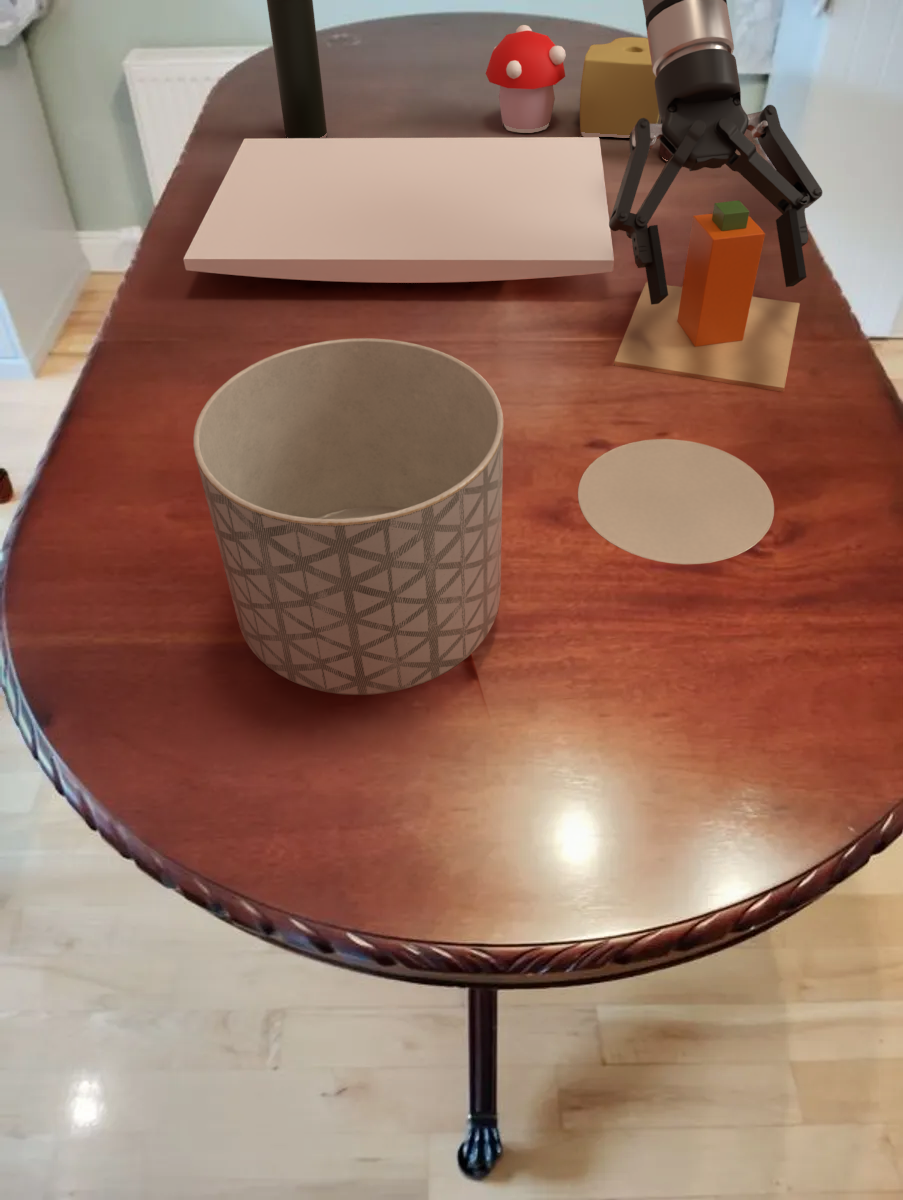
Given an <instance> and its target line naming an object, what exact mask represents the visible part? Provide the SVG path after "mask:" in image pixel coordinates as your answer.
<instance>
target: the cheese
mask: <svg viewBox="0 0 903 1200" xmlns="http://www.w3.org/2000/svg"><path fill="white" fill-rule="evenodd" d="M655 79H656V76H655V74H654V73H653V69H652V63H651V56H650V50H649V43H648V37H639V36H638V37H634V36H632V37H631V36H629V37H628V36H627V37H618V38H614V39H613V40H612V41H611V42H608V43H599V44H597V43H596V44H591V45H590V46H589V48H588V50H587V52H586V54H585V56H584V60H583V68H582V75H581V84H580V91H579V92H580V93H579V129H580V133H581V132H585V133H600V134H617V135H630V133H631V131H632V130H633V128H634V126H635V125H636V123H637V122H638V120H639V119H641V118H646V119H647V120H648V121H649V123H650V124H659V119H660V115H659V109H658V103H657V96H656V90H655Z"/></svg>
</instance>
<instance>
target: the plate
mask: <svg viewBox="0 0 903 1200" xmlns="http://www.w3.org/2000/svg"><path fill="white" fill-rule="evenodd" d="M577 500H578V506H579V508H580V511H581V513H582V516H583V517H584V519H585V520H586V522H587V523H588V525H589V526H590V527H591V528H592V529H593V530H594V531H595V532H596V533H597V534H598V535H599V536H601V537H602V538H603V539H604V540H606V541H607V542H608V543H610V544H612V545H613V546H614V547H617V548H618V549H621V550H623V551H625V552H627V553H629V554H630V555H631V554H632V555H634V556H637V557H640V558H643V559H646V560H651V561H655V562H658V563H659V562H660V563H666V564H672V565H673V564H674V565H701V564H711V563H716V562H720V561H724V560H728V559H731V558H734V557H737V556H738V555H741V554H743V553H745V552H746V551H749V550H750V549H751V548H753V547H754V546H756V545H757V544H758V543H759V542H760V541H761V540H763V538H764V537H765V535H767V534H768V532H769V530H770V528H771V526H772V523H773V520H774V516H775V504H774V498H773V495H772V493H771V490H770V488H769V487H768V485H767V483H766V481H764V479H763V478H762V476H761V475H760V474H759V473H758V472H756V470H754V468H753V467H751V466H750V465H748V464H747V463H746V462H745V461H743V460H741V459H740V458H738V457H737V456H735V455H733V454H731V453H729V452H727V451H724V450H722V449H719V448H717V447H714V446H712V445H708V444H704V443H701V442H697V441H692V440H684V439H675V438H674V439H673V438H653V439H643V440H637V441H633V442H629V443H625V444H622V445H620V446H617V447H614V448H612V449H610V450H608V451H606V452H604V453H602V454H601V455H600V456H598V457H597V458H595V459H594V460H593V461H592V462H591V463H590V464H589V465H588V466H587V468H586V469H585V470H584V472H583V473H582V476H581V477H580V480H579V483H578V487H577Z"/></svg>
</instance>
